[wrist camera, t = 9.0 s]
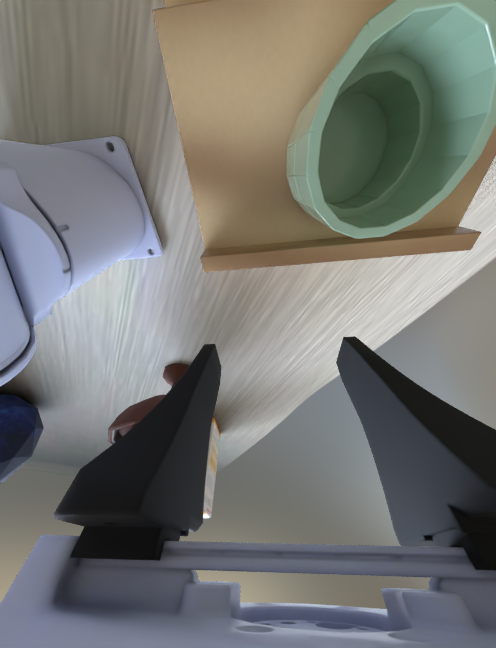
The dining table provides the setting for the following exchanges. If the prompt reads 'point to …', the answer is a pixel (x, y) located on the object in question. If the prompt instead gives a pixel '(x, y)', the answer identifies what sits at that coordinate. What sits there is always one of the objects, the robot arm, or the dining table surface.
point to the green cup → (397, 117)
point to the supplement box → (211, 469)
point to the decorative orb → (17, 433)
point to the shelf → (274, 130)
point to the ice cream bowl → (143, 406)
